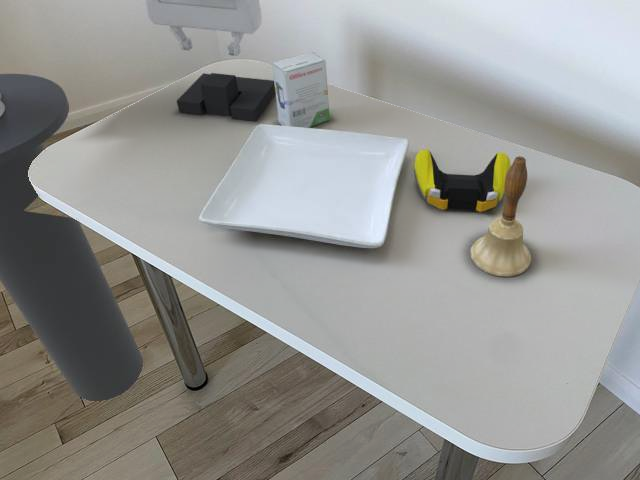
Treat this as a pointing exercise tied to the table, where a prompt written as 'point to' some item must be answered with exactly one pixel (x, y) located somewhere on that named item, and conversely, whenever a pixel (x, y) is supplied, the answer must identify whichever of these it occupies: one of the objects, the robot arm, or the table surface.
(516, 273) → the hand bell
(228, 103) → the black block
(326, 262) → the table surface
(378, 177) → the square plate
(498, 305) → the table surface
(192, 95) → the base pad
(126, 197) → the table surface
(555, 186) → the table surface
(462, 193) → the gaming controller
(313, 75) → the ink box
